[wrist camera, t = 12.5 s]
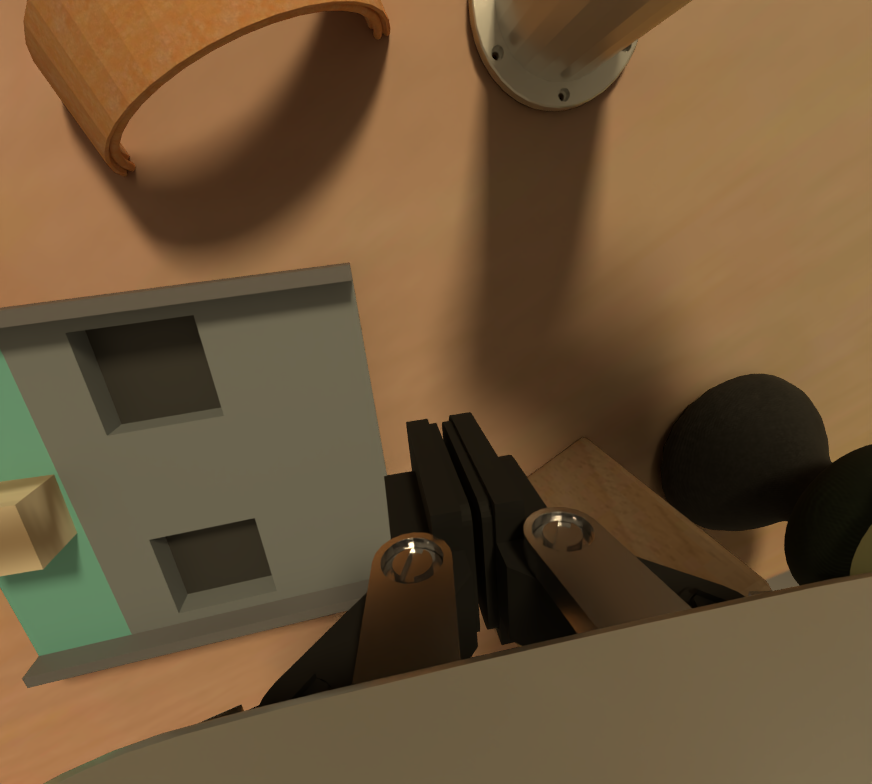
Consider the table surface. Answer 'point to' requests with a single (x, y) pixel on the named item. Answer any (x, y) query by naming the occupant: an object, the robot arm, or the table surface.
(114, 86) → the arch
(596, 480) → the wooden block
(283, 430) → the board
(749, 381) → the candelabra
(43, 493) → the block
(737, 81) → the table surface
